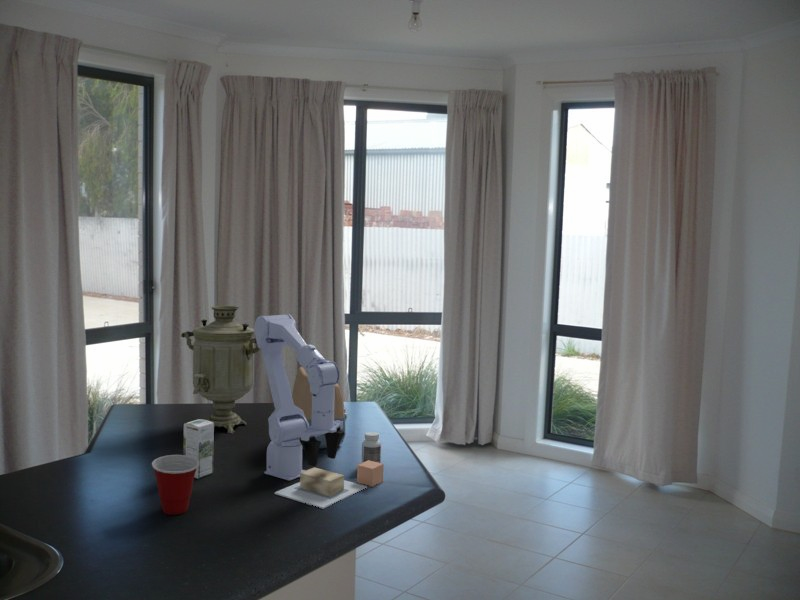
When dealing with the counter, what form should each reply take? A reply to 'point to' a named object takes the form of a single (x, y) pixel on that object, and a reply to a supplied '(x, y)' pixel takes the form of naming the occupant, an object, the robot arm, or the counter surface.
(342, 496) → the white flat plate
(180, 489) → the plastic cup
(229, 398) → the samovar
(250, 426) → the counter surface
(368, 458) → the pill bottle
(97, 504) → the counter surface
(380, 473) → the cube
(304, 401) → the orange and grey canister
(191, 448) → the syrup box
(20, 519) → the counter surface
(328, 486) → the slab
